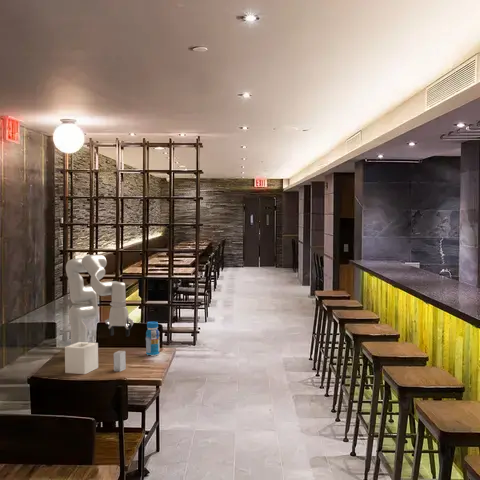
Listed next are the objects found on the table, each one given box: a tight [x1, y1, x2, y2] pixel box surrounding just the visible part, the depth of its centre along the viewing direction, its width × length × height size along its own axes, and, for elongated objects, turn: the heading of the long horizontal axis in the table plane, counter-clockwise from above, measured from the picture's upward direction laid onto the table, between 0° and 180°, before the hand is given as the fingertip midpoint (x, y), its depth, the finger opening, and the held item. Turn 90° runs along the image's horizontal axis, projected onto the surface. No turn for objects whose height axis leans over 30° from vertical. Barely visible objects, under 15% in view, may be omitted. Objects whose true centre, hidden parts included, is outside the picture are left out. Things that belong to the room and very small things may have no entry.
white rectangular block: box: [113, 350, 127, 373], centre depth 322 cm, size 4×6×10 cm, turn 163°
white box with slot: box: [64, 341, 99, 375], centre depth 322 cm, size 12×14×14 cm
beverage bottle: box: [145, 321, 161, 357], centre depth 358 cm, size 8×8×20 cm
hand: (119, 335), depth 322 cm, fingers open, 9 cm apart
